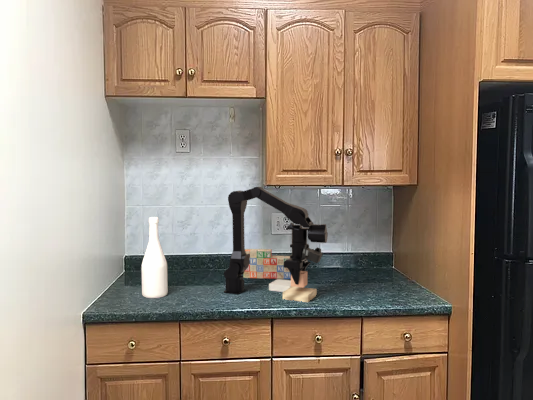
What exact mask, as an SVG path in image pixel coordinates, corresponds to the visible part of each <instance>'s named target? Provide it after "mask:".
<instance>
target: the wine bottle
mask: <svg viewBox="0 0 533 400" xmlns="http://www.w3.org/2000/svg"><path fill="white" fill-rule="evenodd" d="M159 223H160V221H159V217H158V216H150V217H148V225H149V226H148V228H149V229H148V231H149V235H148V236H149V239H148V242H147V246H146V250H145V253H144V256H143V259H142V262H141V295H142V296H143V297H144V298H147V299H159V298H163V297H165V296H167V295H168V261H167V259H166V256H165V253H164V250H163V247H162V245H161V242H160V237H159Z"/></svg>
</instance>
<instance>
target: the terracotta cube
mask: <svg viewBox="0 0 533 400" xmlns="http://www.w3.org/2000/svg"><path fill="white" fill-rule="evenodd" d="M308 275H309V274H308V271H307V270H305V271H300V278H299V284H295V282H294V280H293V278H292V276H291V279H290V280H291V286H293V287H303V288H306V286H308Z"/></svg>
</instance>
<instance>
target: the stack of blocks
mask: <svg viewBox="0 0 533 400" xmlns="http://www.w3.org/2000/svg"><path fill="white" fill-rule="evenodd" d="M245 252H246V254H250V258H249V260H250V264H249V266H248V268H247V269H246V270H245V271H244V274H242V276H243V279H244V278H245V279H272V280H273V279H275V280H277V279H282V280H291V273H290V272H289V270H288V268H284V262H285V261H286V260H287V259H289V258H290V255H273V252H272V248H270V249H269V248H245ZM291 259H293V258H291Z"/></svg>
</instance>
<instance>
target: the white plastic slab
mask: <svg viewBox="0 0 533 400" xmlns="http://www.w3.org/2000/svg"><path fill="white" fill-rule="evenodd" d="M290 287H292V286H291V279H275V280H272V282H270V283H268V291H272V292H280V293H283V292H284V291H286V290H287V289H289V288H290Z"/></svg>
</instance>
